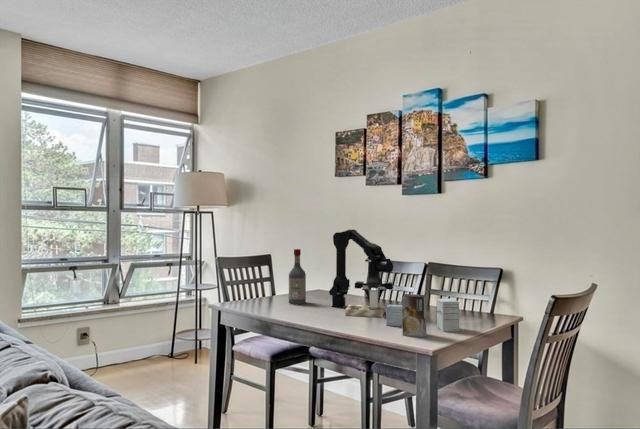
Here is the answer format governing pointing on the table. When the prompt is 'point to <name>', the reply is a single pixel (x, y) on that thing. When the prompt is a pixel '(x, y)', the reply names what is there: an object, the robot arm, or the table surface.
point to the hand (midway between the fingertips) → (374, 302)
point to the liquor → (297, 281)
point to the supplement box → (448, 315)
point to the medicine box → (394, 315)
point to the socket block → (364, 311)
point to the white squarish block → (373, 298)
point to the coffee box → (414, 315)
